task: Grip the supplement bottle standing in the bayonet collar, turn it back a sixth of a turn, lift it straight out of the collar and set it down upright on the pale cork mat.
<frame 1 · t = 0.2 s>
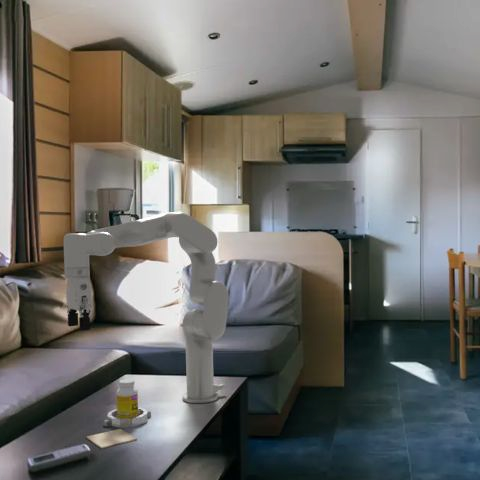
hand: (79, 327, 198), 31 cm above the table, tool pointing down, fingers open, 9 cm apart
supplement bottle: (127, 421, 202), resting in collar
mat: (111, 438, 186), on the table
collar: (127, 420, 202), on the table
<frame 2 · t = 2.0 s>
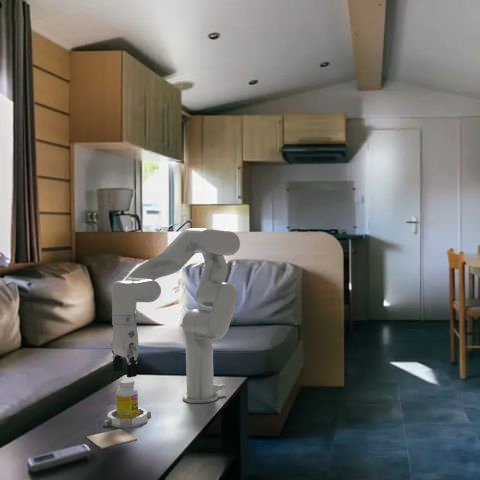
hand: (124, 373, 201), 15 cm above the table, tool pointing down, fingers open, 9 cm apart
nothing on the table moved.
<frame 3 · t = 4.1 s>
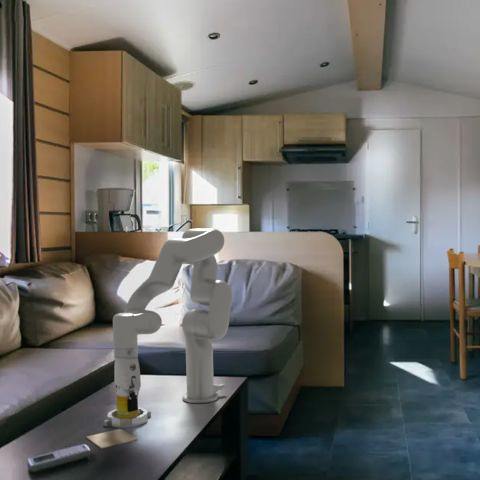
hand: (127, 407, 202), 4 cm above the table, tool pointing down, fingers closed on supplement bottle, 6 cm apart
supplement bottle: (127, 421, 202), resting in collar, touching gripper
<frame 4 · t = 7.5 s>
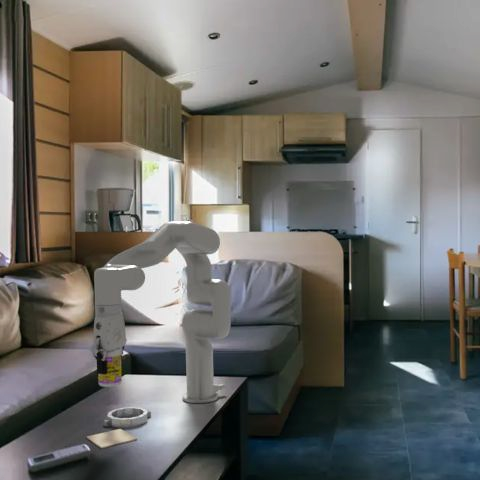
hand: (109, 370, 186), 20 cm above the table, tool pointing down, fingers closed on supplement bottle, 6 cm apart
supplement bottle: (110, 385, 186), point 16 cm above the table, touching gripper
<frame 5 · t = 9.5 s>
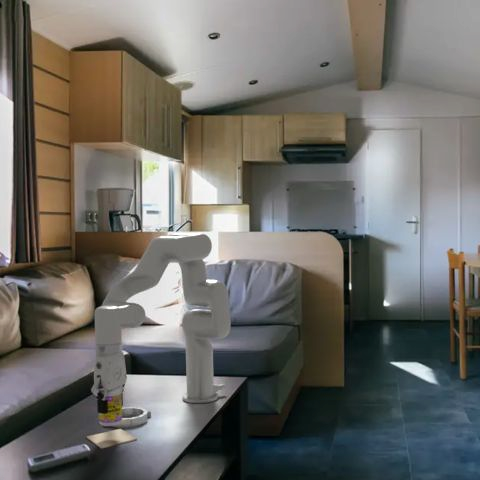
hand: (110, 408, 186), 9 cm above the table, tool pointing down, fingers closed on supplement bottle, 6 cm apart
supplement bottle: (110, 423, 186), point 5 cm above the table, touching gripper
when the fingers open (6 cm above the table, at t = 11.1 s): supplement bottle drops 1 cm, resting on mat.
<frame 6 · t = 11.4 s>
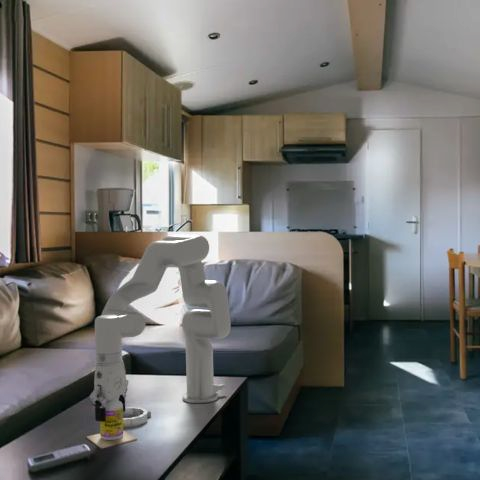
hand: (110, 416, 186), 7 cm above the table, tool pointing down, fingers open, 9 cm apart
supplement bottle: (112, 437, 186), resting on mat
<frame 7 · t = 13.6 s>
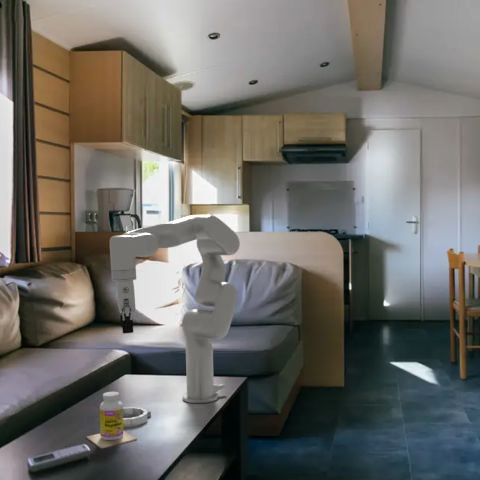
hand: (127, 329, 198), 30 cm above the table, tool pointing down, fingers open, 9 cm apart
nothing on the table moved.
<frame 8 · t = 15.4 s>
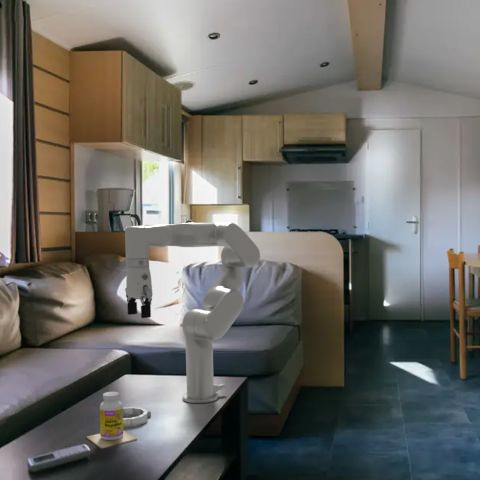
hand: (139, 315, 208), 32 cm above the table, tool pointing down, fingers open, 9 cm apart
nothing on the table moved.
at the end: supplement bottle inside the target area on the mat (0.4 cm from its centre), point 0.2 cm above the mat's base; supplement bottle tilted 0°; the gripper is holding nothing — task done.
